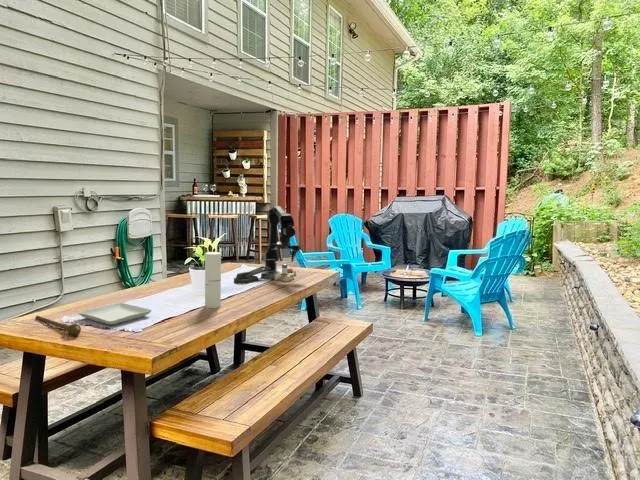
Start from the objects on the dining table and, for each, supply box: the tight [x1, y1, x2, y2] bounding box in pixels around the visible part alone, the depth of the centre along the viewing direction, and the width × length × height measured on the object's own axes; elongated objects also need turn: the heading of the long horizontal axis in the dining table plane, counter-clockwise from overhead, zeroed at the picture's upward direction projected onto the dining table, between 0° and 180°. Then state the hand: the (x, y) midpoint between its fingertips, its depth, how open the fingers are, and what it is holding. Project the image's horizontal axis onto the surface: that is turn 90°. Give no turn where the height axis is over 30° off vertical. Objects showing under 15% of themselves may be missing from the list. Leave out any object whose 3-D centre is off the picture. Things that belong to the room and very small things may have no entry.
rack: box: [274, 272, 295, 282], centre depth 294 cm, size 9×9×3 cm
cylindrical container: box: [204, 251, 222, 309], centre depth 227 cm, size 7×7×25 cm
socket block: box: [260, 270, 297, 280], centre depth 303 cm, size 17×17×3 cm
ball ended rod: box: [34, 315, 82, 337], centre depth 190 cm, size 5×35×5 cm
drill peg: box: [281, 263, 288, 275], centre depth 294 cm, size 3×3×9 cm
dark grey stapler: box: [233, 265, 271, 284], centre depth 289 cm, size 9×7×25 cm
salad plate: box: [77, 302, 152, 326], centre depth 205 cm, size 21×21×3 cm
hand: (284, 261), depth 293 cm, fingers open, 9 cm apart
